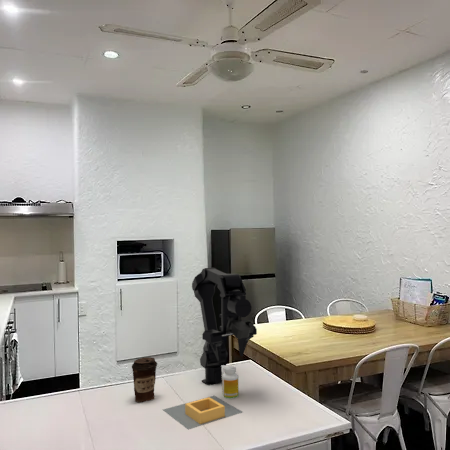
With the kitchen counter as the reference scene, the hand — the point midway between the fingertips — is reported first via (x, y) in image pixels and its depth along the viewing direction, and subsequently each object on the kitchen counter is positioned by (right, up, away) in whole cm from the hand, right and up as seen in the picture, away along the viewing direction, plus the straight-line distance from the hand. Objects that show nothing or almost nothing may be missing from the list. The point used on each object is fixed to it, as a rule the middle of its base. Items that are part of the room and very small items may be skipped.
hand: (230, 358), depth 138 cm
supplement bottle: (0, -13, 0) cm, 13 cm away
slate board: (-9, -13, -12) cm, 20 cm away
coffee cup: (-28, -13, -2) cm, 31 cm away
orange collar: (-8, -12, -15) cm, 21 cm away
